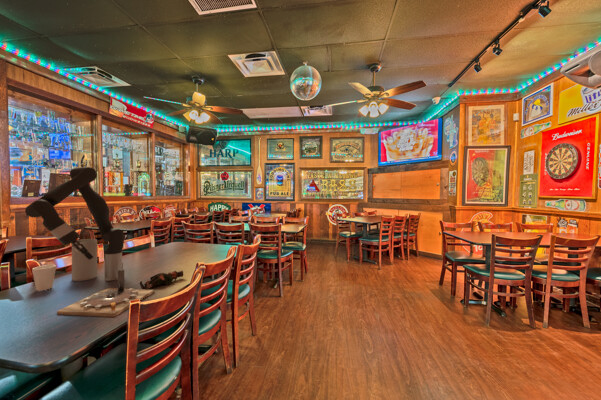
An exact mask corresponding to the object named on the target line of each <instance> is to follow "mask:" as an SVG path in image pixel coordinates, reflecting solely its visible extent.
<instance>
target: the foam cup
mask: <svg viewBox="0 0 601 400" xmlns="http://www.w3.org/2000/svg"><path fill="white" fill-rule="evenodd" d="M56 269H57V265H56V264H45V265H39V266H36V267H32V269H31V270H32V277H33V280H34V285H35V289H36V291H37V290H38V291H37V292H43V291H42V290H45V291H48V290H47V289H49V290H51V289H53V285H54V279H55V275H56ZM50 288H51V289H50Z"/></svg>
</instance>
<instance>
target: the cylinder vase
mask: <svg viewBox="0 0 601 400" xmlns="http://www.w3.org/2000/svg"><path fill="white" fill-rule="evenodd" d="M76 240H77V241H78V242H79V241H81V242H82V244H83V245H84V246H85V247H86V249H87V250H88V252H89V253H90V254H91V255H92V256H93V258H92V259H90V260H89V259H88V258H87V257H85V256H84V255H82V254H81V253H80V252H78V251H77V250H76V249H74V248H73V247H72V246H73V245H72V244H71V280H72V281H73V282H85V281H88V280H89V281H90V280H92V279H95V278H97V276H98V239H96V238H87V239H85V238H84V239H76Z"/></svg>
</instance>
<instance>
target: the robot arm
mask: <svg viewBox="0 0 601 400" xmlns="http://www.w3.org/2000/svg"><path fill="white" fill-rule="evenodd" d="M69 177H70V179H69V180H67V181H65V182H63V183H60V184H59V185H57V186H55V187H53V188H51V189H50V190H48V191H47V192H46V193H45V194H43V196H41V197H40V198H38V199H36V200H34V201H33V202H31V203H30V204H29V205H27V206H26V207H25V209H24V210H25V211H24V212H25V214H26V215H27V216H28V217H30V218H40V217H41V218H42V225H43V226H44V228H45V229H47V230H48V231H49V232H50V233H51V235H52V236H53V237H55V239H56V240H58V241H59V243H61V244H62V245H63V246H67V245H68V244H69V245H70V244H71V248H72V247H73V248H74V249H76V250H77V251H78V252H80V253H81V254H82V255H84V256H85V257H87V258H88V259H89V260H90V259H92V258H93V256H92V255H91V254H90V253H89V252H88V250H87V249H86V247H85V246H84V245H83V244H82V242H81V241H79V242H78V241H77V240H78V238H80V237H81V235H80V233H78V232H77V231H76V230H75V229H74V228H73V227H72V226H71V225H69V223H67V222H66V221H65V220H64V219H63V218H62V217H60V215H59V213H58V212H57V210H56V208H55V206H57V205H58V204H60V203H61V202H62V201H64V200H65V199H67V198H68V197H69V196H71V195H72V194H73V193H74V192H77V191H79V193H80V195H81V196H82V198H83V200H84V202H85V204H86V207H87V208H88V211H89V212H90V214H91V216H92V217H93V220H94V221H95V223H96V225H97V227H98V231H99V233H100V236H101V238H102V240H103V241H104V242H106V243H108V246H107V248H105V249H104V281H106V282H108V281H110V282H111V281H118V270H124V262H123V248H124V245H125V244H124V243H125V233H124V231H123V230H122V229H120V228H114V227H113V225H112V223H111V221H110V208H109V205H108V204H107V201H106V199H105V198H104V197H103V196H101V195H100V194H99V193H98V192H96V191H95V190H94V189H93V188H92V187H91V185H90V183H92V182H94V181H95V180H96V179H97V178H98V173H97V171H96V169H95V168H94V167H91V166H81V167H79V166H78V167H73V168H72V169H70V171H69ZM72 245H73V246H72Z"/></svg>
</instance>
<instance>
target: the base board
mask: <svg viewBox="0 0 601 400" xmlns="http://www.w3.org/2000/svg"><path fill="white" fill-rule="evenodd" d="M128 289H129V288H124V290H128ZM133 289H134V291H136V290H138V294H137V297H136V298H130V299H129V301H130V300H135V299H140V300H141V301H142V300H144V299H146V298H147V296H148V297H149V296H150V295H151V296H152V295H153V294H154V293H155V289H141V288H140V289H139V288H138V289H137V288H133ZM106 290H111V291H113V290H118V287H117V288H116V287H108V288H105V289H103V290H100V291H98V292H97V293H103V292H106ZM92 296H93V294H92V295H89V296H87V297H86V298H89V297H92ZM145 297H146V298H145ZM143 298H144V299H143ZM81 302H83V299H80V300H78V301H76V302H74V303H72V304H70V305H67V306H65V307H63V308H61V309H58V310H56V314H57V315H67V316H68V315H70V316H91V317H92V316H93V317H113V318H116V316H118V315H119V314H122V313H123V312H125V311H127V310H129V302H127V303H124V302H122V303H119V304H116V306H115V304H114V305H111V306H106V307H102V308H101V309H96V310H95V307H91V308H88V309H84V306H86V305H84V306H80V303H81ZM84 302H86V301H84Z"/></svg>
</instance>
